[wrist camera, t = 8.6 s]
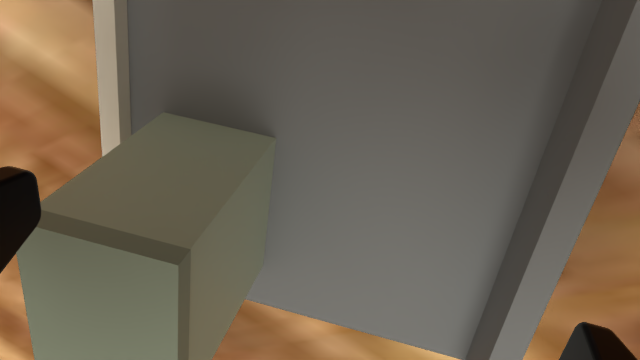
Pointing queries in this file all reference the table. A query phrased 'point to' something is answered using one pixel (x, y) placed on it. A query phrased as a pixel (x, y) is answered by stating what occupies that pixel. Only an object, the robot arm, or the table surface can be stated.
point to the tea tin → (150, 245)
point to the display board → (397, 144)
